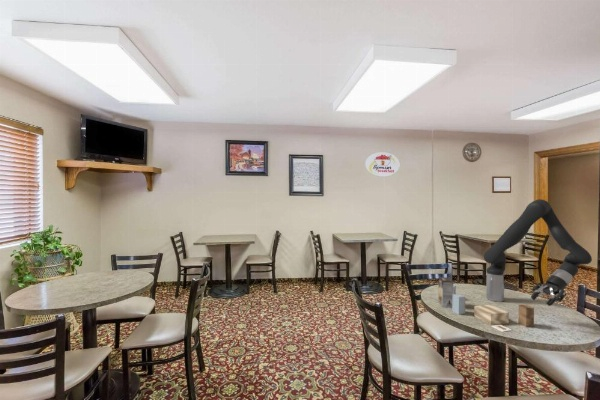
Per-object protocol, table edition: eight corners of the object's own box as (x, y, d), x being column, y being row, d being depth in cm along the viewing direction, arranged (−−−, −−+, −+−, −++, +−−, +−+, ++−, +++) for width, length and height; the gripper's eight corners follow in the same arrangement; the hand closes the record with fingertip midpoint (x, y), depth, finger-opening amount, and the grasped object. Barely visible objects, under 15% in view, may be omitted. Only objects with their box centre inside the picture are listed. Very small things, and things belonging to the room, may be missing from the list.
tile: (500, 325, 147) (500, 324, 147) (511, 330, 141) (511, 329, 141) (491, 326, 146) (491, 325, 146) (502, 331, 140) (502, 330, 140)
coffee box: (437, 301, 181) (438, 276, 180) (448, 302, 179) (449, 277, 179) (442, 307, 172) (442, 280, 171) (453, 308, 170) (453, 281, 170)
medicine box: (455, 298, 187) (456, 285, 187) (454, 300, 184) (454, 287, 184) (443, 295, 193) (443, 283, 193) (441, 297, 189) (441, 284, 189)
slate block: (458, 310, 166) (458, 294, 166) (464, 313, 162) (465, 296, 162) (452, 311, 165) (452, 294, 165) (458, 314, 161) (458, 297, 160)
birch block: (490, 315, 161) (491, 304, 161) (508, 323, 150) (508, 312, 150) (474, 316, 159) (474, 305, 159) (490, 325, 148) (491, 313, 148)
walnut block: (526, 322, 151) (526, 304, 151) (533, 326, 146) (534, 307, 146) (518, 323, 150) (518, 304, 150) (526, 327, 146) (526, 307, 146)
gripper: (542, 271, 157) (523, 292, 156) (569, 278, 143) (548, 301, 142) (550, 280, 158) (531, 301, 156) (578, 288, 143) (557, 311, 142)
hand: (539, 301), depth 149 cm, fingers open, 8 cm apart
